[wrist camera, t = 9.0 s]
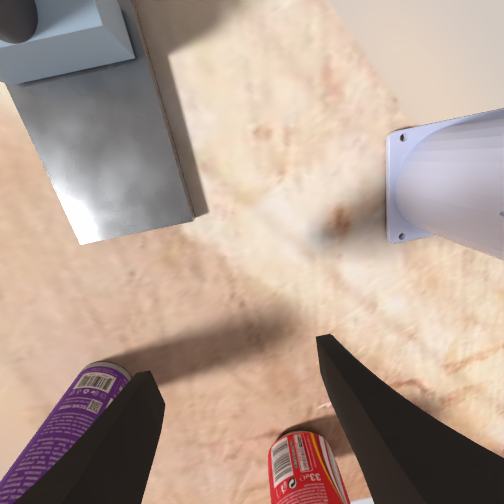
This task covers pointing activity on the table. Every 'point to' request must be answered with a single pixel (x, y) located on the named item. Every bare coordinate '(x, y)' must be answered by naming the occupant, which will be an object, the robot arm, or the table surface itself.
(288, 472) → the soda can
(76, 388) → the container
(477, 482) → the robot arm
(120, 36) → the sliding jaw
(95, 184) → the base
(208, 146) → the table surface
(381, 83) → the table surface
